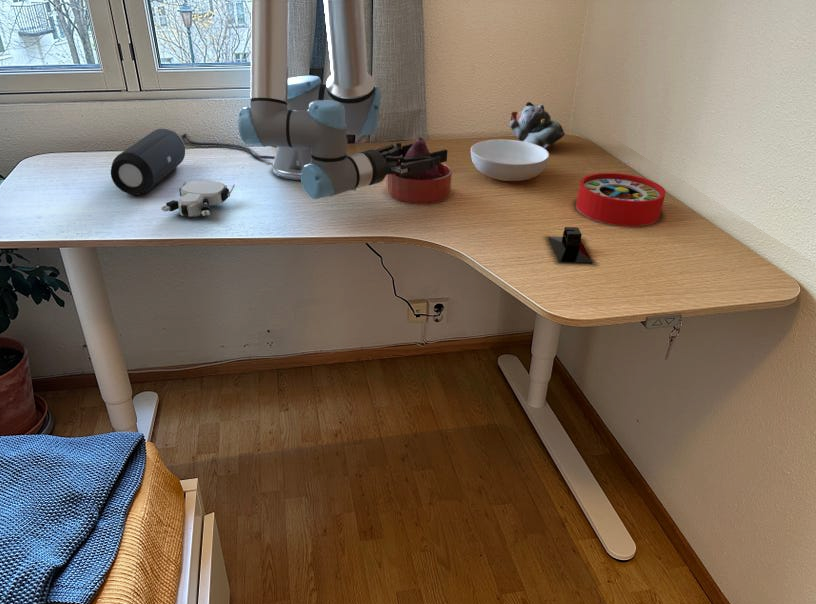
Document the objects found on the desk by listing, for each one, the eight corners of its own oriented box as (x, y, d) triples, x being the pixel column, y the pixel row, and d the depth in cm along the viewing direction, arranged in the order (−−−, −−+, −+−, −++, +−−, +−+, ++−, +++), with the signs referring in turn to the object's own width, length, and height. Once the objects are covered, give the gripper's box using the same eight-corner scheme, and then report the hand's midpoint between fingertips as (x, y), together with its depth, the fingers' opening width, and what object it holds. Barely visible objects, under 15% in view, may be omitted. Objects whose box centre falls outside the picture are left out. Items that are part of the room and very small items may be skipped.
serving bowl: (458, 181, 173) (460, 155, 169) (482, 159, 189) (484, 135, 185) (535, 194, 167) (539, 167, 163) (553, 170, 183) (557, 146, 179)
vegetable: (432, 208, 162) (441, 155, 150) (392, 199, 162) (398, 145, 151) (441, 185, 168) (450, 132, 157) (402, 176, 169) (408, 122, 158)
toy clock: (678, 186, 158) (644, 208, 145) (672, 210, 162) (638, 233, 149) (603, 167, 169) (565, 186, 156) (598, 189, 172) (561, 209, 159)
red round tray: (373, 190, 165) (373, 167, 161) (418, 177, 174) (419, 155, 171) (417, 209, 156) (419, 185, 152) (463, 194, 165) (465, 171, 162)
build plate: (547, 238, 145) (551, 218, 142) (580, 239, 145) (584, 219, 142) (558, 262, 135) (562, 241, 132) (593, 264, 135) (598, 243, 132)
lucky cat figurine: (534, 155, 194) (518, 109, 189) (513, 160, 205) (496, 117, 200) (573, 135, 198) (557, 89, 193) (549, 140, 209) (534, 97, 204)
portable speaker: (153, 199, 155) (144, 157, 149) (111, 196, 155) (102, 154, 149) (191, 165, 176) (185, 127, 170) (154, 163, 176) (147, 124, 170)
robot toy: (211, 227, 145) (238, 198, 156) (208, 208, 142) (235, 180, 153) (160, 221, 146) (190, 193, 158) (155, 202, 143) (186, 175, 155)
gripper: (335, 173, 157) (404, 156, 170) (394, 197, 145) (463, 176, 159) (334, 142, 153) (405, 126, 166) (394, 164, 141) (465, 145, 154)
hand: (433, 151), depth 162 cm, fingers closed on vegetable, 8 cm apart
